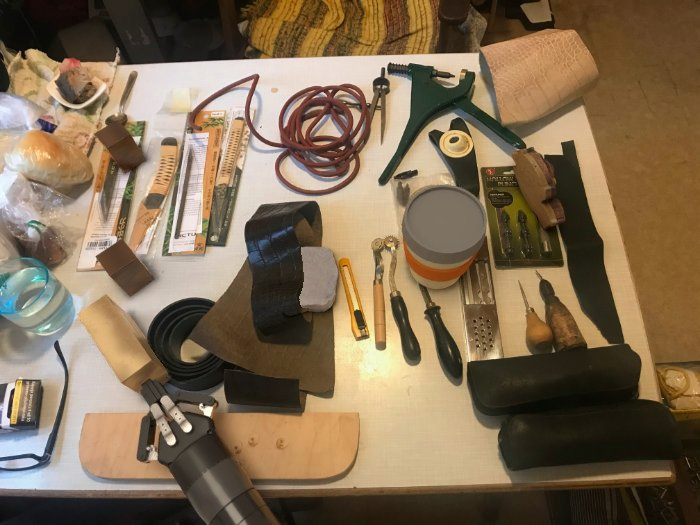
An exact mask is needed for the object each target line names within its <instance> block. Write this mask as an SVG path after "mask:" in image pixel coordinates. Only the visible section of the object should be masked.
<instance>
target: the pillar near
mask: <svg viewBox="0 0 700 525" xmlns="http://www.w3.org/2000/svg"><path fill="white" fill-rule="evenodd" d="M95 258H96V260H97V261H98V263H99V264H100V265H101V267H102V268H103V269H104V271H105V272H106V273H107V275H108V276H109V278H110V279H112V280H113V281H114V282H115V284H116V285H117V286H119V288H121V290H123V291H124V292H125V293H126V294H127V295H128V296H129V297H132V296H133V295H135V294H136V293H138V292H139V291H140V290H142V289H143V288H145V287H146V286H149V284H151V283H152V282H154V281H155V280H156V278H155V277H154V275H153V274H152V273H151V272H150V270H149V269H148V267H147V266H146V265H145V264H144V262H143V261H142V259H141V258H139V256H138V255H137V254H136V253H135V252H134V251H133V249H132V248H131V247H130V246H129V245H128V243H127V242H126V241H125V240H124V239H123V238H121V239H119V240H117V241H116V242H115V243H113V244H111V245H110V246H109V247H107V248H106V249H103V250H102V251H101V252H100V253H98V254H96V255H95Z"/></svg>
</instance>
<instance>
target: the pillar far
mask: <svg viewBox="0 0 700 525" xmlns="http://www.w3.org/2000/svg"><path fill="white" fill-rule="evenodd" d="M94 136H95V137H96V138H97V140H98V141H99V142H100V144H101V145H102V147H103V148H104V149H105V151H106V153H107V154H108V155H109V157H110V158H111V160H112V161H113V162H114V163H115V165H116V166H117V167H118V168H119V170H120V171H122V173H123V174H124V175H126V174H128V173H130V172H131V171H133V170H134V169H136V168H138V167H139V166H140V165H142V164H144V163H145V162H147V159H146V157H145V155H144V154H143V152H142V150H141V149H140V147H139V146H138V143H137V142H136V141H135V139H134V137H133V136H132V134H131V132H129V131H128V129H126V127H125V126H124V125H123V124H122V122H120V121H119V119H116V120H115V121H113V122H112V123H109V124H108V125H106V126H104V127H103V128H101V129H100V130H98V131H96V132H94Z"/></svg>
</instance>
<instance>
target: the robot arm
mask: <svg viewBox="0 0 700 525" xmlns="http://www.w3.org/2000/svg"><path fill="white" fill-rule="evenodd" d="M141 386H142V388H143V389H141V390H140V391H141V395H140V396H142V397H143V399H144V401H145V403H146V404H147V405H148V407H149V410H148V413H147V414H146V415H144V416H142V417H141V422H140V427H139V428H140V429H139V435H138V443H137V451H136V460H137V461H138V462H140V463H142V464H150V463H151V462H158V463H159V464H160V465H163V466H164V467H166V468H167V469H168V470H169V472H170V473H171V475H172V477H173V479H174V480H175V482H176V484H178V486H179V487H180V489H181V491H182V492H183V494H184V495H185V497H186V499H187V500H188V501H189V503H190V504H191V506H192V507H193V509H194V511H195V512H196V513H197V515H198V516H199V517H200V518H201V519H202V521H203V522H204V523H205V524H206V525H285V524H284V523H283V522H282V521H281V520H280V519H279V518H278V517H277V516H276V515H275V513H274V512H273V511H272V509H271V508H270V507H269V506H268V504H267V502H266V501H265V500H264V499H263V497H262V496H261V495H260V493H259V491H258V490H257V489H256V487H255V486H254V483H253V482H252V481H251V478H250V477H249V475H248V473H247V471H246V470H245V469H244V467H243V464H242V463H241V462H240V461H239V460H238V459H237V458H236V456H235V455H234V453H233V452H232V451H231V449H230V447H228V445H227V444H226V443H225V441H224V439H223V438H222V437H221V435H220V434H219V433H218V431H217V429H216V425H215V424H216V423H215V420H214V419H213V416H214V413H215V409H217V408H218V407H219V406H220V402H219V400H217V399H216V398H215V397H214V396H212V395H207V394H201V393H195V392H190V391H185V390H175V392H173V393H172V394H170V393H169V392H168V390H167V389H166V388H165V386H164V385H162V383H160V382H159V381H158V380H156V379H154V380H152V379H150V378H149V379H148V380H147V381H146V382H144V383H143V384H142V385H141ZM181 403H182V404H187V405H192V406H197V407H198V409H199V411H200V412H203V414H202V413H197V412H192V411H189V410H188V411H187V410H186V411H184V410H183V409H182V408H181V407H180V406H179V404H181ZM169 415H170V416H171V417H172V419H171V418H170V416H169ZM157 428H159V432H158V443H157V444H158V445H157V446H156V445H155V441H156V432H157Z"/></svg>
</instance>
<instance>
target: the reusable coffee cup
mask: <svg viewBox="0 0 700 525" xmlns="http://www.w3.org/2000/svg"><path fill="white" fill-rule="evenodd" d="M487 226H488V217H487V212H486V209H485V207H484V205H483V203H482V202H481V201H480V200H479V198H478V197H477V196H475V194H473V193H472V192H470V191H469V190H467V189H464V188H463V187H460V186H457V185H452V184H436V185H435V184H434V185H430V186H427V187H425V188H422V189H420V190H419V191H417V192H416V193H415V194H414V195H413V196H412V197H411V198H410V199H409V200H408V202H407V204H406V205H405V208H404V212H403V216H402V220H401V234H402V236H401V237H402V245H403V251H404V257H405V260H406V263H407V264H408V266H409V272H410V274H411V275H412V277H413V279H414V280H415V281H416V282H417V283H418V284H420V285H421V286H423V287H425V288H428V289H432V290H441V289H446V288H449V287H451V286H453V285H455V284H456V282H458V280H459V279H460V277H461V276H463V275H464V274H465V273H466V272H467V271H468V270H469V269H470V266H471V265H472V263H473V262H474V260H475V258H476V257H477V255H478V254H479V251H480V249H481V247H482V246H483V244H484V241H485V239H486V234H487Z"/></svg>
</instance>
